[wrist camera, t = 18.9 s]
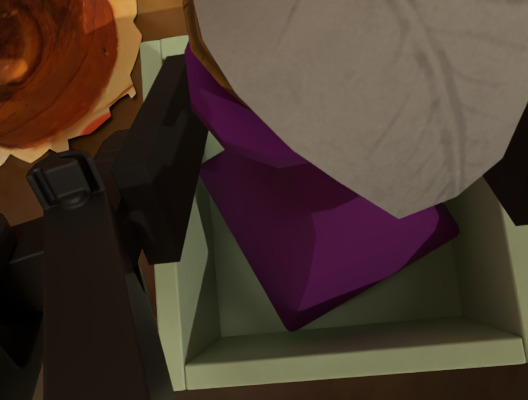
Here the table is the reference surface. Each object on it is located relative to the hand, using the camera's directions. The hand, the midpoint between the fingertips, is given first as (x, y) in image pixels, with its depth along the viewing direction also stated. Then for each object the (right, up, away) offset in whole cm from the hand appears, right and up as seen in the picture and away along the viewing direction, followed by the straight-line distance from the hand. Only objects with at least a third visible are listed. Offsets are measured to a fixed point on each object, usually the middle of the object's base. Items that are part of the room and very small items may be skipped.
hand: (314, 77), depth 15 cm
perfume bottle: (+1, -4, +6) cm, 8 cm away
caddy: (+1, -4, +7) cm, 9 cm away
